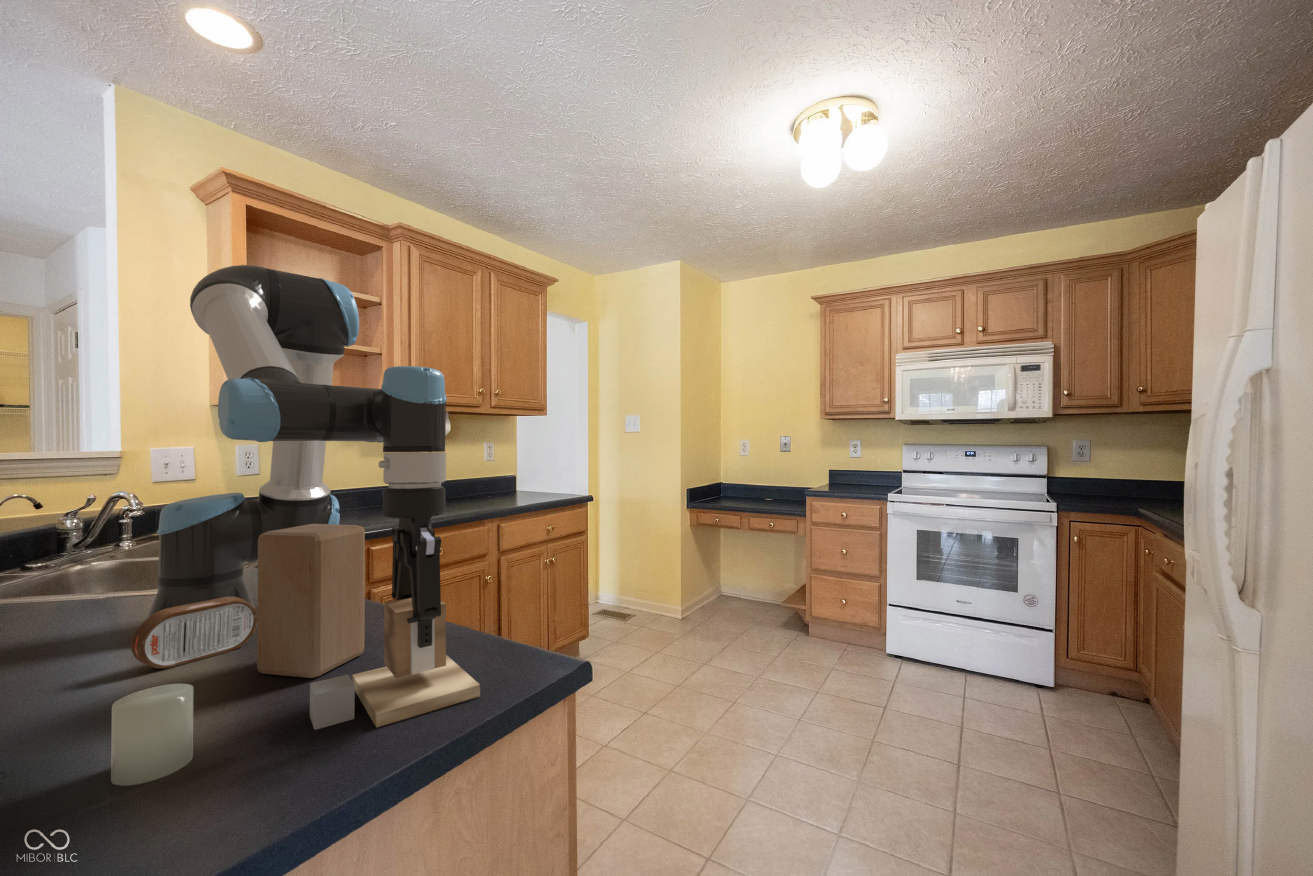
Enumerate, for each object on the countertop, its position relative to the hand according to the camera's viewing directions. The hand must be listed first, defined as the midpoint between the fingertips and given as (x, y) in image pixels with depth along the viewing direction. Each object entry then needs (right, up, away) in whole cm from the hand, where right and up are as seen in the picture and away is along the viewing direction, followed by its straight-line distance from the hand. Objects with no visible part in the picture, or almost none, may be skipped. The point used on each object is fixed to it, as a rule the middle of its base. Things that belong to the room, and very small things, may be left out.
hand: (414, 662), depth 71 cm
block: (-19, -4, +9) cm, 21 cm away
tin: (-38, -4, +12) cm, 40 cm away
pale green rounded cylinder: (-19, -4, -17) cm, 25 cm away
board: (0, -4, 0) cm, 4 cm away
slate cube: (-7, -4, -7) cm, 10 cm away
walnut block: (0, 0, 0) cm, 0 cm away
